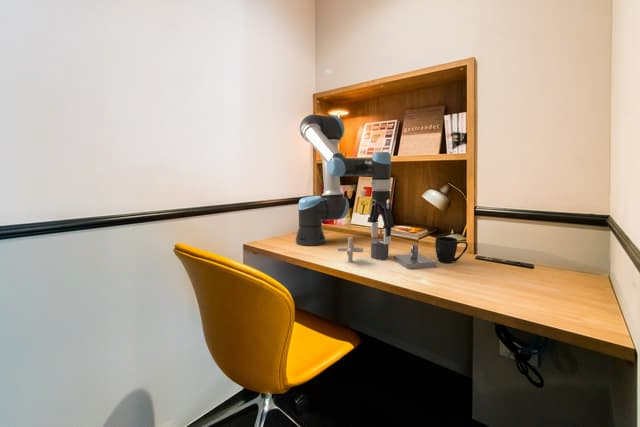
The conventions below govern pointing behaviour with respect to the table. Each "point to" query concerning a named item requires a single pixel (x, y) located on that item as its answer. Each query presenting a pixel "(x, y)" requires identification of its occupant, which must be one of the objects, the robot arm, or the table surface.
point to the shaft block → (414, 259)
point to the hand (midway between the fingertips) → (380, 240)
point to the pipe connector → (350, 249)
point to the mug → (447, 249)
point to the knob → (379, 249)
